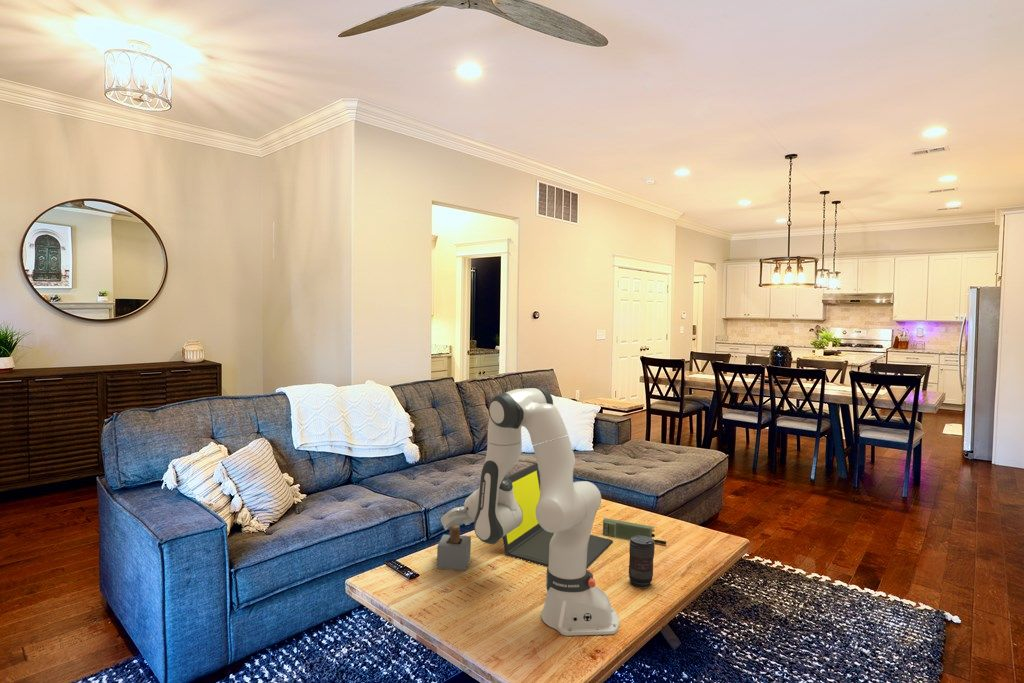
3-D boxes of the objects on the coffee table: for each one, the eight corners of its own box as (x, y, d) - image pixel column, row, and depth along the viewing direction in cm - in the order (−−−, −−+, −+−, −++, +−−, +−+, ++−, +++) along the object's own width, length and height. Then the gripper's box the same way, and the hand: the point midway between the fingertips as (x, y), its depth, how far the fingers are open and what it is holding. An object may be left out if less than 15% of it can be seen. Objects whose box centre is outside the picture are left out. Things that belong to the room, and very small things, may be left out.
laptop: (579, 577, 192) (582, 501, 191) (491, 552, 209) (494, 482, 208) (612, 543, 221) (615, 477, 219) (533, 524, 238) (535, 462, 237)
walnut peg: (460, 553, 200) (460, 525, 200) (458, 557, 197) (459, 529, 196) (450, 552, 200) (450, 524, 200) (448, 556, 197) (449, 528, 196)
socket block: (470, 558, 203) (470, 536, 203) (465, 570, 193) (466, 547, 193) (442, 556, 204) (443, 534, 204) (436, 568, 194) (437, 545, 194)
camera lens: (657, 583, 188) (659, 539, 188) (644, 591, 182) (647, 546, 182) (636, 575, 194) (637, 532, 193) (623, 583, 188) (625, 539, 187)
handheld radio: (604, 532, 231) (666, 544, 221) (602, 536, 228) (665, 548, 218) (604, 517, 231) (667, 528, 221) (602, 520, 227) (666, 531, 218)
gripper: (457, 519, 184) (436, 539, 191) (502, 509, 199) (480, 528, 206) (450, 502, 187) (429, 522, 194) (494, 493, 202) (473, 512, 209)
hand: (456, 525), depth 200 cm, fingers open, 8 cm apart
